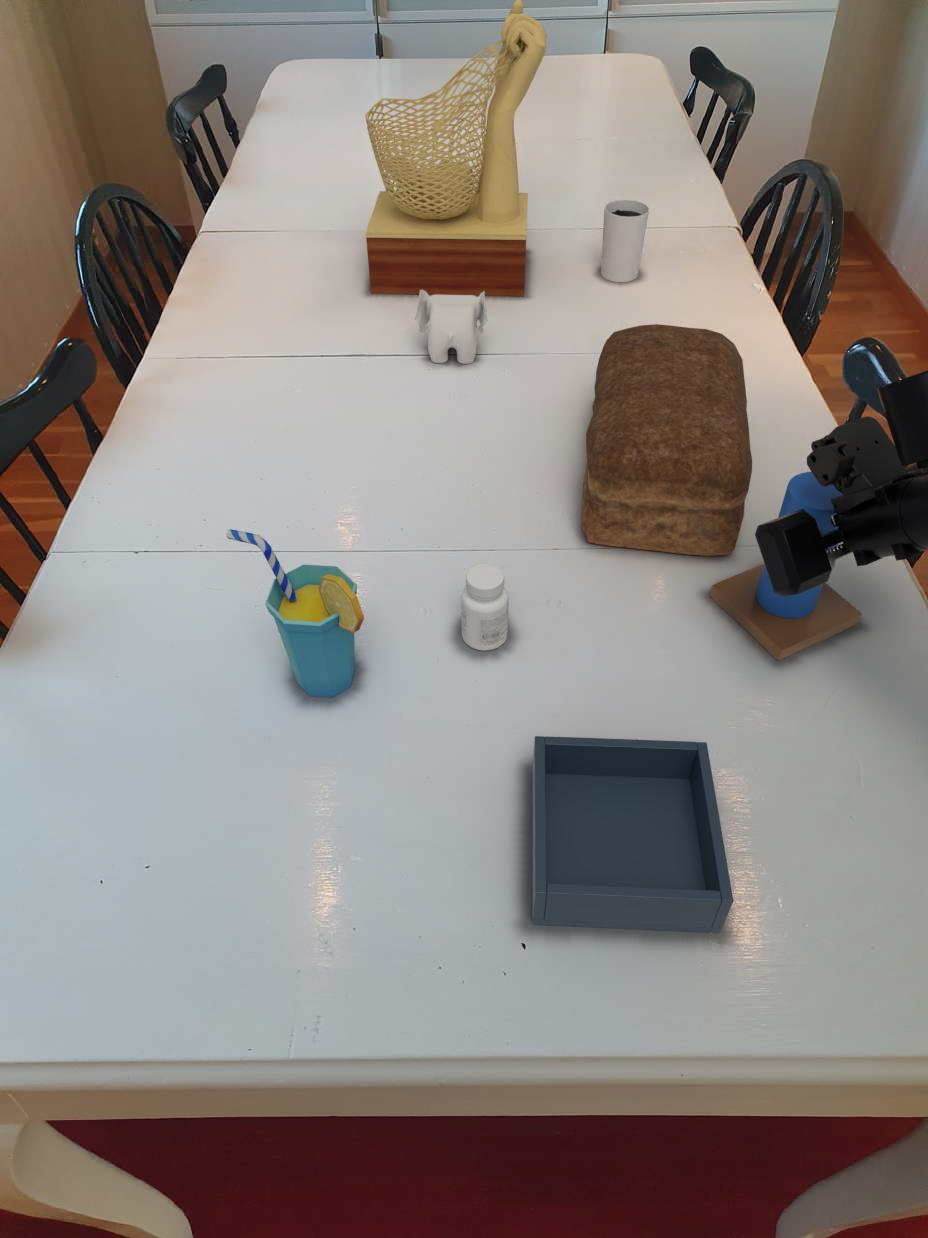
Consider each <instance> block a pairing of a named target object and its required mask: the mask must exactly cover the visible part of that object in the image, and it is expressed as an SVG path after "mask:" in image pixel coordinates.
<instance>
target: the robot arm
mask: <svg viewBox="0 0 928 1238" xmlns="http://www.w3.org/2000/svg"><path fill="white" fill-rule="evenodd" d="M876 390H877V394H878V396H879V400H880V404H881V406H882V409H883V412H884V416H885V418H886V422H887V425H888V428H889V431H890V435H891V438H892V439H891V438H890V437H889V435H888V434H887V432H886V430H885V429H884V428H883V426H882V425H881V423H880V422H879V421H878V420H877V419H876V418H874V417H872V416H862V417H860V418H857V419H854V420H852V421H848V422H846V423H844V424H841V425H838V426H836V427H834V428H833V429H832V430H831V432H830V433H828V434H827V435H825V436H824V437H822V438H819V439H816V440H814V441H812V442H811V445H810V448H811V450H812V451H811V452H810V453H809V454H808V455H807V457H806V465H807V467H808V469H809V470H810V472H812V473H813V475H814V476H815V478H816V479H817V481H818V483H819V484H820V485H822V486H828V485H833V486H834V487H835V488H836V489H837V490H838V491H839V492H841V493H842V494H843V495H840V496H837V497H834V498H832V499H831V502H832V505H833V508H834V511H835V513H836V514H834V515H831V517H830V520H831V523H832V525H833V527H837V526H838V528H837V529H835V530H833V531H830V532H828V533H825V534H822V531H821V530H819V528H818V525H817V522H816V519H815V518H814V517H813V516H811V515H810V514H809V513H807V512H806V511H805V510H804V509H801V510H798V511H796V512H793V513H791V514H788V515H785V516H782V517H779V518H778V517H777V518H774V519H772V520H769V521H767V522H764V523H761V524H759V525H757V526H756V530H755V533H754V536H755V540H756V543H757V545H758V548H759V551H760V554H761V557H762V560H763V564H764V563H765V566H766V569H767V572H768V575H769V578H770V581H771V584H772V587H773V590H774V593H776V594H778V595H780V596H791V595H797V594H800V593H802V592H804V591H807V590H809V589H811V588H814V587H816V586H818V585H821V584H823V583H828V582H829V579H830V577H831V573H832V572H833V570H834V568H835V567H836V560H838V559H841V558H843V557H845V556H847V555H850V554H852V553H853V557H854V560H855V563H856V566H857V567H862V566H867V565H870V564H872V563H874V562H877V561H879V560H881V559H884V558H887V557H894V559H895V561H904V560H907V559H911V558H912V557H914V556H917V555H919V554H922V553H924V552H926V551H928V370H925V371H922V372H919V373H916V374H913V375H909V376H908V377H904V378H902V379H899V380H896V381H893V382H891V383H888V384H885V385H883V386H881V387H878V388H877V389H876ZM905 466H906V467H905ZM836 544H838V546H835V547H832V548H831V549H827V548H829V547H831V546H834V545H836ZM827 551H828V553H826V552H827Z"/></svg>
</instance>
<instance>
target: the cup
mask: <svg viewBox="0 0 928 1238" xmlns="http://www.w3.org/2000/svg"><path fill="white" fill-rule="evenodd" d="M225 534H226V538H227V539H229V540H230V541H231V540H233V541H235V542H241V543H245V544H250V545H254V546H256V547H257V548H259V550H261V552H262V554H263V556H264V558H265V559H266V561H267V564H268V565H269V567H270V569H271V571H272V573H273V575H274V576H275V578H274V579H273V581H272V584H271V587H270V590H269V593H268V595H267V597H266V601H265V604H264V605H265V606H266V610H267V612H268V613H269V614H270V615H271V616H272V617H273V619H274V621H275V624H276V627H277V631H278V633H279V636H280V638H281V641H282V644H283V648H284V649H285V650H284V651H285V653H286V655H287V658H288V660H289V663H290V666H291V668H292V669H291V670H292V671H293V675H294V677H295V681H296V683H297V684H298V686H300V687H301V689H302V690H303V691H304V692H305V693H306V694H307V695H308V697H312V698H313V697H315V698H328V699H332V698H334V697H336V696H338V695H340V694H341V693H342V692H345V691H346V690H348V689H350V688H351V687H352V683H353V679H354V675H355V671H356V665H355V663H356V661H355V660H356V659H355V658H356V657H355V655H356V654H355V633H357V632H358V631H359V630H360V629H361V627H362V625H363V622H364V619H365V616H364V613H363V610H362V607H361V604H360V601H359V598H358V596H357V595H358V594H357V593H358V584H357V583H356V581H353V579H351V577H349V576H348V575H347V574H346V573H345V572H344V571H343V570H342V569H341V568H340V567H339V566H335V565H332V566H331V565H321V564H319V565H317V564H302V565H299V566H298V567H296V568H294V569H291V570H290V571H288V572H286V573H285V571H284V569H283V567H282V565H281V563H280V561H279V559H278V557H277V556H276V554H275V552H274V550H273V548H272V546H271V545H270V544H269V542H268V541H267V540H266V539H265V538H263V536H261V535H260V534H257V533H254V532H253V533H252V532H246V531H242V530H237V529H231V528H230V529H227V531H226V533H225Z"/></svg>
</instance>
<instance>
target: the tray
mask: <svg viewBox="0 0 928 1238" xmlns="http://www.w3.org/2000/svg"><path fill="white" fill-rule="evenodd" d="M712 771H713V770H712V765H711V759H710V755H709V749H708V743H707V742H706V741H686V740H661V739H659V740H654V739H632V738H631V739H630V738H629V739H627V738H602V737H601V738H600V737H577V736H576V737H575V736H549V735H547V736H543V735H542V736H541V735H535V736H534V743H533V757H532V769H531V772H532V773H531V777H532V778H531V817H532V818H531V826H532V827H531V832H532V833H531V835H532V836H531V840H532V841H531V843H532V844H531V846H532V847H531V851H532V852H531V856H532V857H531V871H532V873H531V874H532V875H531V879H532V880H531V881H532V882H531V890H532V892H531V893H532V895H531V896H532V899H531V904H532V905H531V906H532V907H531V912H532V913H531V917H532V919H531V920H532V923H531V924H532V925H535V926H559V927H576V928H577V927H581V928H600V929H601V928H603V929H623V930H647V931H667V932H669V931H670V932H691V933H710V934H711V933H714V934H720V933H721V932H722V930H723V927H724V925H725V922H726V920H727V918H728V916H729V913H730V910H731V908H732V906H733V903H734V897H733V890H732V884H731V879H730V873H729V867H728V861H727V854H726V850H725V849H726V848H725V842H724V836H723V830H722V825H721V820H720V813H719V807H718V800H717V796H716V790H715V783H714V777H713V772H712Z"/></svg>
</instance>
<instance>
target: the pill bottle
mask: <svg viewBox="0 0 928 1238" xmlns="http://www.w3.org/2000/svg"><path fill="white" fill-rule="evenodd" d="M509 605H510V596H509V593H508V590H507V589H506V587H505V574H504V571H503V570H502V569H501V568H500V567H499V566H497V565H495V564H490V563H478V564H475V565H473V566H471V567H470V568H469V569H468V570H467V572H466V575H465V587H464V588H463V590H462V591H461V596H460V615H461V616H460V617H461V619H460V621H461V623H460V624H461V638H462V639H463V642H464V643H465V644H466V645H467V646H469V647H470V648H472V649H474V650H478V651H491V650H495V649H497V648H499V647H501V646H502V645H503V644H504V643H505V642H506V640H507V638H508V633H509V632H508V630H509Z"/></svg>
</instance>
